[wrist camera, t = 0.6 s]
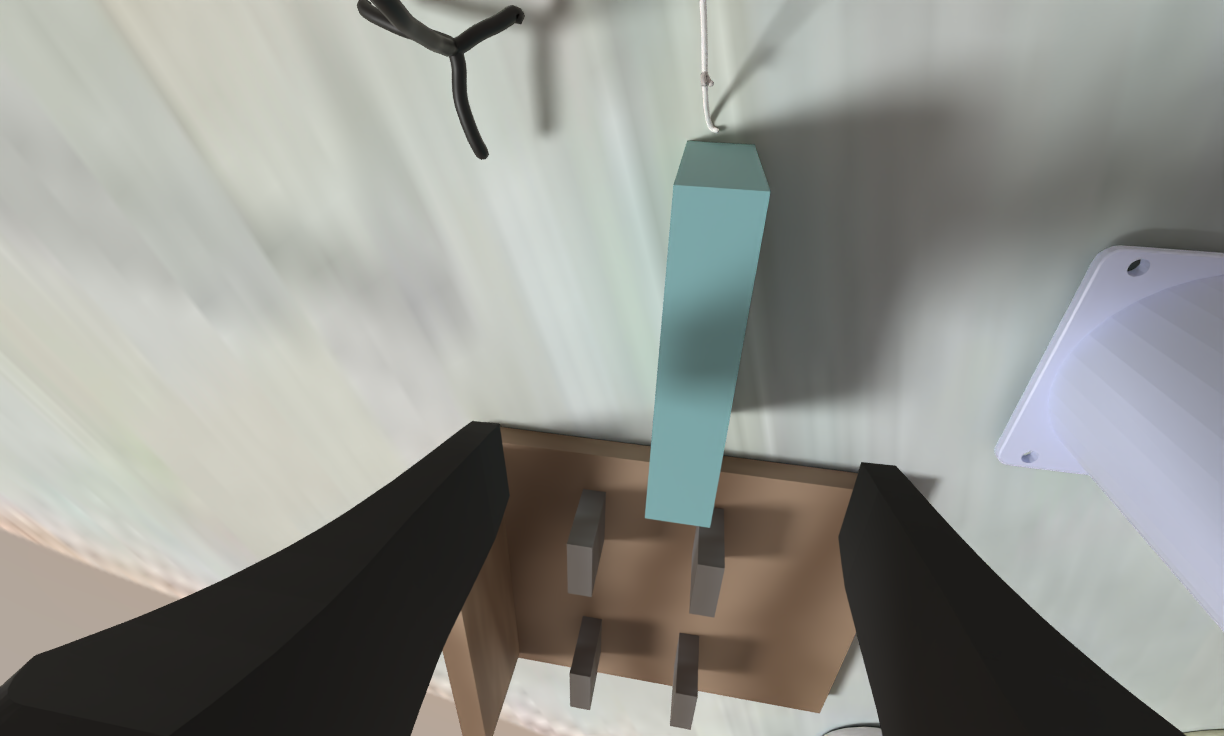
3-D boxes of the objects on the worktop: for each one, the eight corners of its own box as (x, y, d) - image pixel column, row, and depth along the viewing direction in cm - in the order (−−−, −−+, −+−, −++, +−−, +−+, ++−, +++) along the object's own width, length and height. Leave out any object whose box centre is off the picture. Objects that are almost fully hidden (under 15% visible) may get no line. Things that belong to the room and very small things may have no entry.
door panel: (754, 144, 16) (770, 191, 11) (712, 412, 21) (709, 527, 16) (687, 140, 16) (673, 185, 11) (661, 406, 22) (644, 517, 17)
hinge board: (908, 479, 21) (968, 616, 16) (816, 694, 30) (837, 828, 25) (476, 423, 24) (410, 528, 18) (504, 637, 32) (464, 749, 27)
